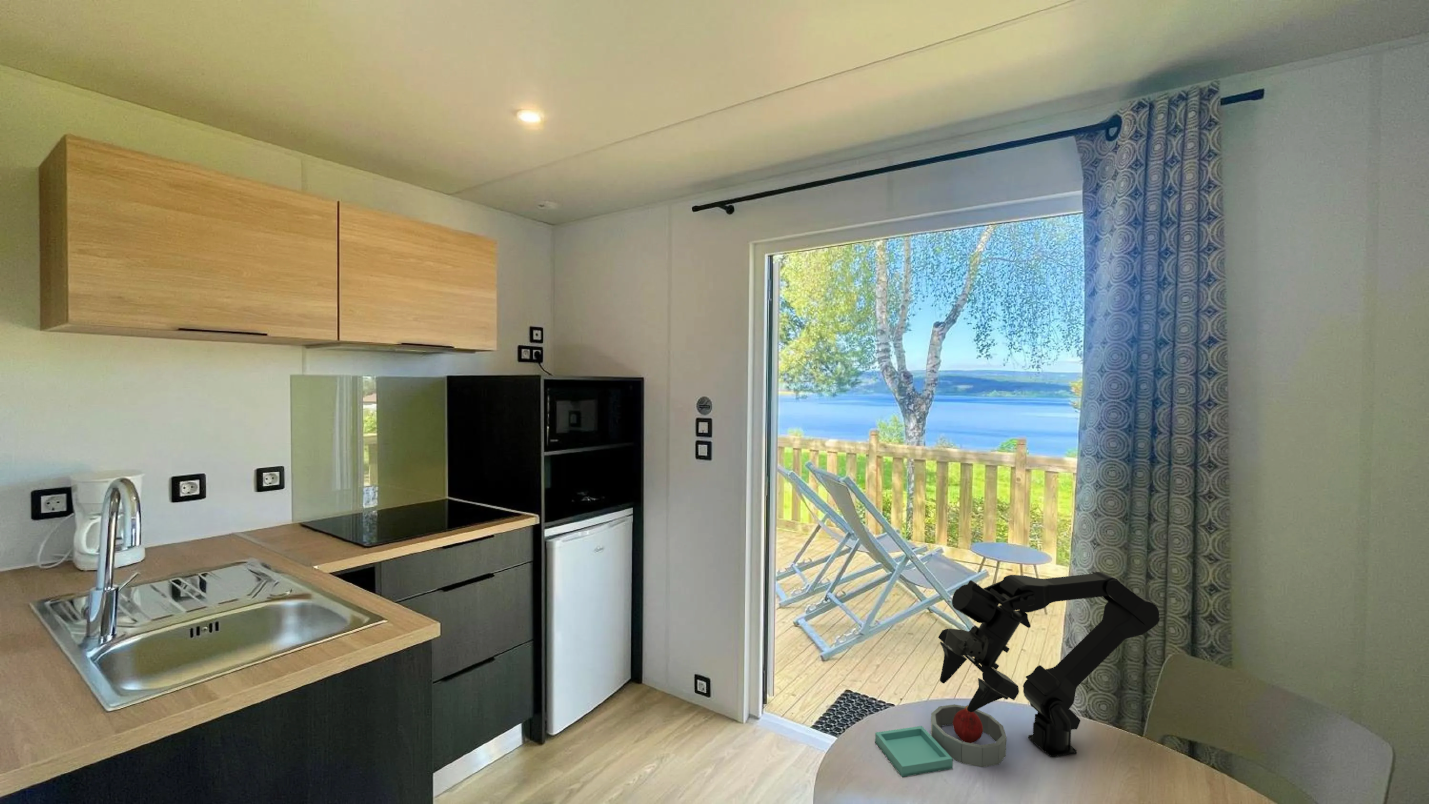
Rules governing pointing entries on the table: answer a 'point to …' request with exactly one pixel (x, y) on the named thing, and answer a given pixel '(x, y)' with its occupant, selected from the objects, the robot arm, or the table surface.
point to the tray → (913, 751)
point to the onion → (967, 726)
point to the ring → (969, 751)
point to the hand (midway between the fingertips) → (954, 696)
